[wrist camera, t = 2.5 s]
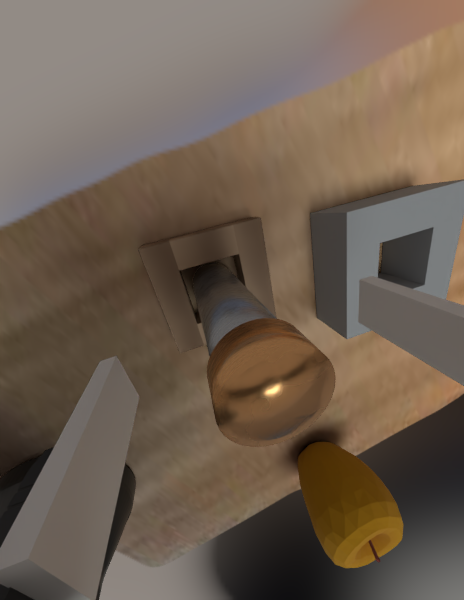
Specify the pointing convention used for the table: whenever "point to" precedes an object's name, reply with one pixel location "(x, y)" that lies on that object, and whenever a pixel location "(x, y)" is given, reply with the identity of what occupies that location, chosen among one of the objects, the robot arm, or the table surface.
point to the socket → (384, 247)
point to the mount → (199, 250)
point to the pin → (257, 364)
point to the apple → (348, 505)
